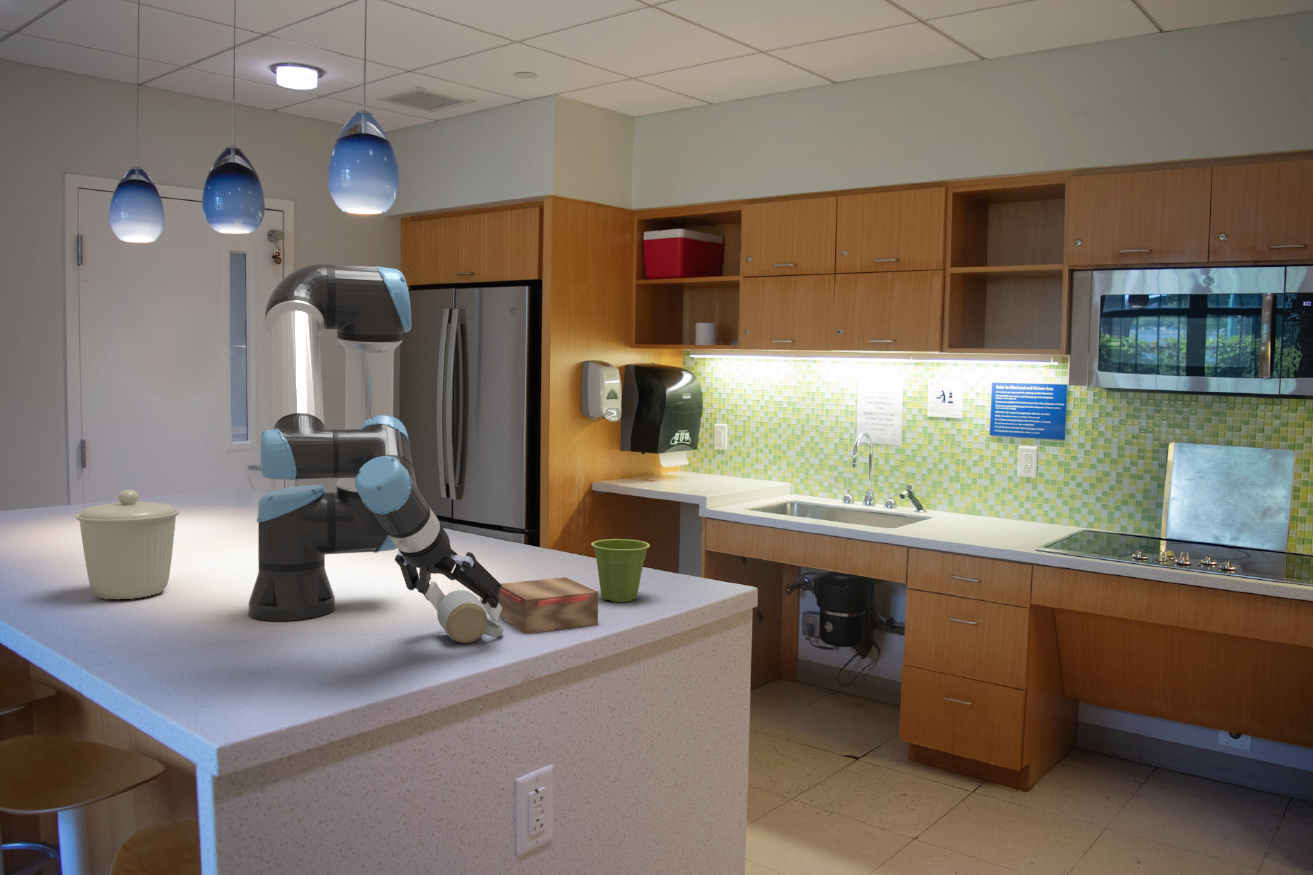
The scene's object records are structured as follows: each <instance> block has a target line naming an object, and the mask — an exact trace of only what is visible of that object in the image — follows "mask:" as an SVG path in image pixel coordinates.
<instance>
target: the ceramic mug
mask: <svg viewBox="0 0 1313 875" xmlns="http://www.w3.org/2000/svg"><path fill="white" fill-rule="evenodd" d="M479 600H480V599H479V598H477V596H476V594H475V593H474V594H473V592H471V591H468V590H465V589H461V590H460V589H459V590H458V589H457V590H453V591H450V592H448V593H447V594H446V595H445V597H444V598H443V599H442V600H441V602H440V604H439V606H438V610H436V616H437V620H438V623H439V625H440V627H441V628H442V629H443V630H444V631H445V633H446V634H447V636H448V637H449V638H450V639H451V640H453V641H455V642H457V643H460V644H470V643H473V642H476V641H478V640H479V639H480V638H482V636H483V635H487V636H488V637H492V638H496V639H497V638H498V639H499V638H501V637H502V634H503V632H504V627H503V626H502V625H500V623H497V622H495V621H493V620H492V619H491V618H488V615H487V614H488V613H487V611H486V610H485V608H484V607H483V605H482V604H481V602H480V601H479Z"/></svg>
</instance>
